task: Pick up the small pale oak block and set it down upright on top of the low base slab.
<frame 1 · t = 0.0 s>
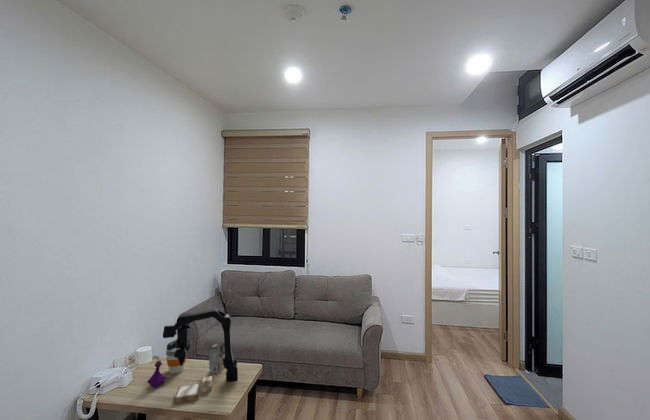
hand: (182, 361, 183), 15 cm above the table, fingers open, 9 cm apart
reusable coffee cup: (176, 370, 202), on the table
perfume bottle: (156, 385, 184), on the table
coffee box: (217, 369, 202), on the table
base slab: (188, 395, 173), on the table
oak block: (207, 388, 180), on the table
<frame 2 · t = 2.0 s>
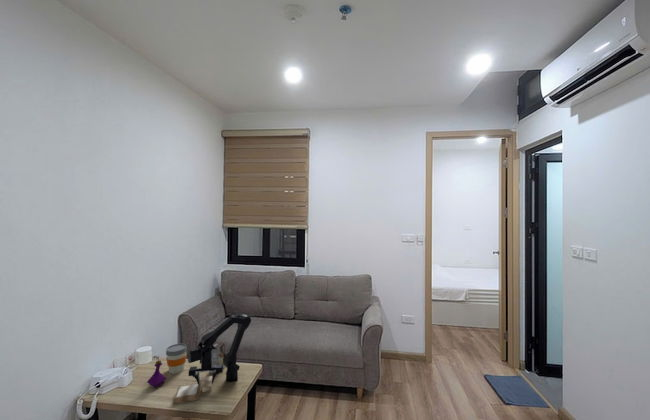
hand: (205, 384, 179), 3 cm above the table, fingers open, 7 cm apart
nothing on the table moved.
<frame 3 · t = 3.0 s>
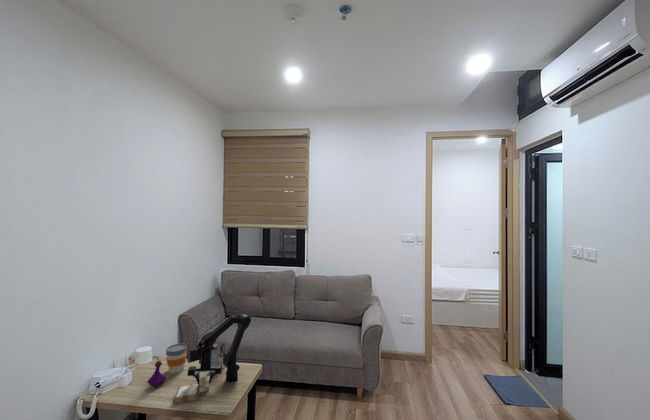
hand: (204, 384, 179), 3 cm above the table, fingers closed on oak block, 5 cm apart
oak block: (204, 389, 179), on the table, touching base slab, gripper
everything else where it was.
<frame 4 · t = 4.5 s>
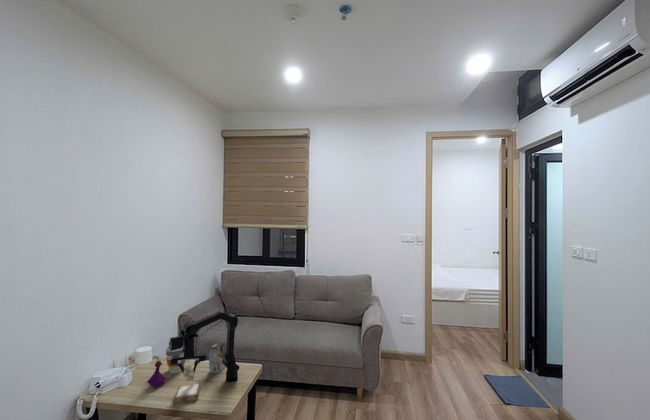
hand: (189, 373, 174), 12 cm above the table, fingers closed on oak block, 5 cm apart
oak block: (189, 378, 174), point 10 cm above the table, touching gripper
everything else where it was.
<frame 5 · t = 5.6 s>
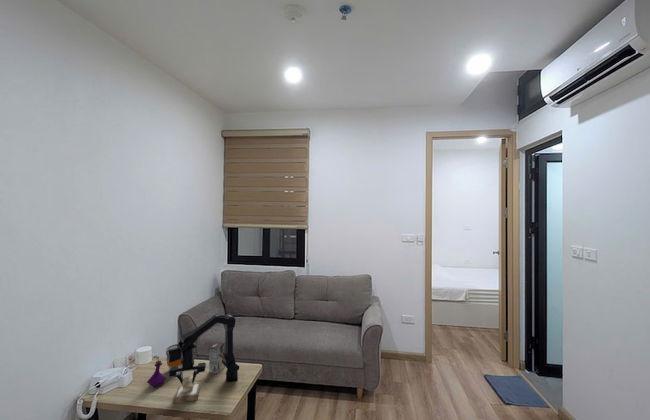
hand: (188, 384, 173), 6 cm above the table, fingers closed on oak block, 5 cm apart
oak block: (188, 389, 173), point 4 cm above the table, touching gripper
everything else where it was.
when the fingers open (6 cm above the table, at t = 6.1 s): oak block stays where it is, resting on base slab.
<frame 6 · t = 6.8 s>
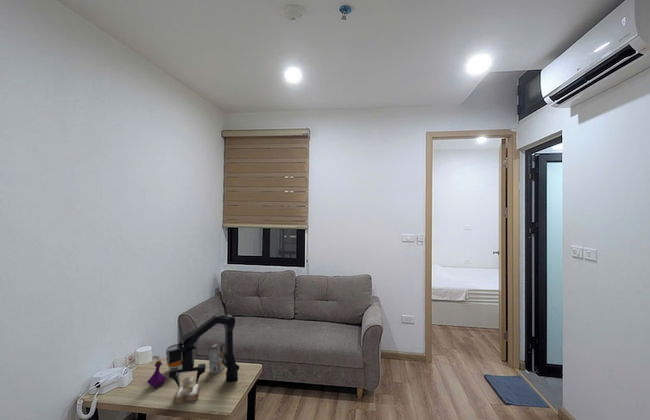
hand: (187, 385, 173), 6 cm above the table, fingers open, 9 cm apart
oak block: (188, 389, 173), point 3 cm above the table, touching base slab
everything else where it was.
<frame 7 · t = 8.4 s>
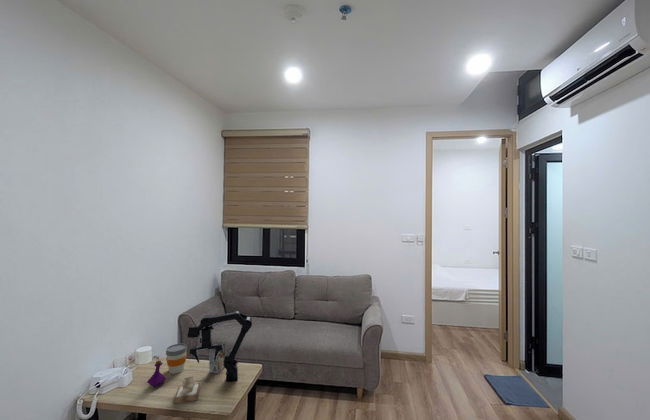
hand: (206, 361, 188), 12 cm above the table, fingers open, 9 cm apart
nothing on the table moved.
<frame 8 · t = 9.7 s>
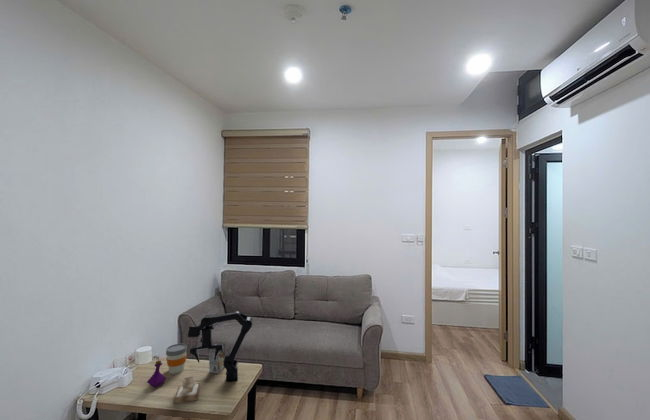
hand: (206, 361, 188), 12 cm above the table, fingers open, 9 cm apart
nothing on the table moved.
at the end: oak block inside the target area on the base slab (0.1 cm from its centre), point 3.1 cm above the base slab's base; oak block tilted 0°; the gripper is holding nothing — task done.
